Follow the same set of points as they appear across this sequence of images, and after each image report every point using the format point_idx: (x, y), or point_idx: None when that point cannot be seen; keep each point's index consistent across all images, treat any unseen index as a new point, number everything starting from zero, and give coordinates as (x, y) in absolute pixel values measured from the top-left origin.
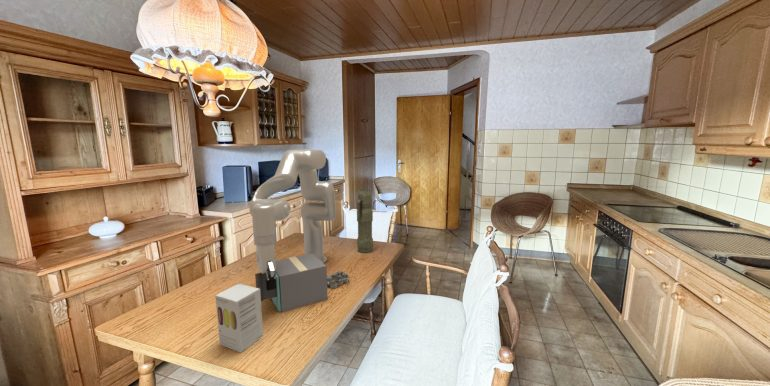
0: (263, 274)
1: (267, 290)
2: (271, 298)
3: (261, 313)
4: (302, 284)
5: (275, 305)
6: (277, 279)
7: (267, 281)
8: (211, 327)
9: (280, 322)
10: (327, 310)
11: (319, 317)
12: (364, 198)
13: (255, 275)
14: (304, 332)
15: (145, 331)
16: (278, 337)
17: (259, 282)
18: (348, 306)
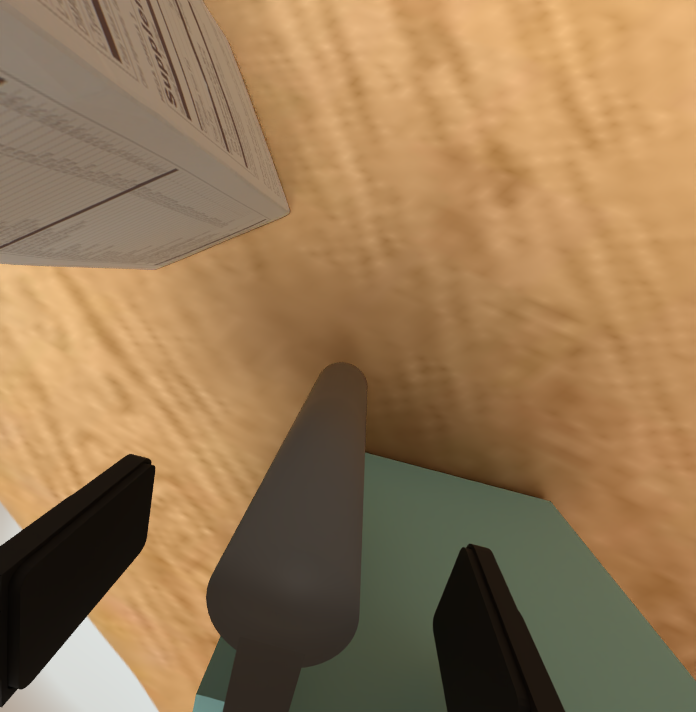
0: (235, 657)
1: (133, 457)
2: (477, 482)
3: (3, 261)
4: None
5: (376, 457)
6: (212, 661)
7: (9, 556)
8: (459, 62)
9: (213, 393)
10: (161, 590)
11: None
12: None
13: (280, 536)
14: (59, 426)
15: None
16: (93, 320)
17: (265, 476)
18: (131, 660)
